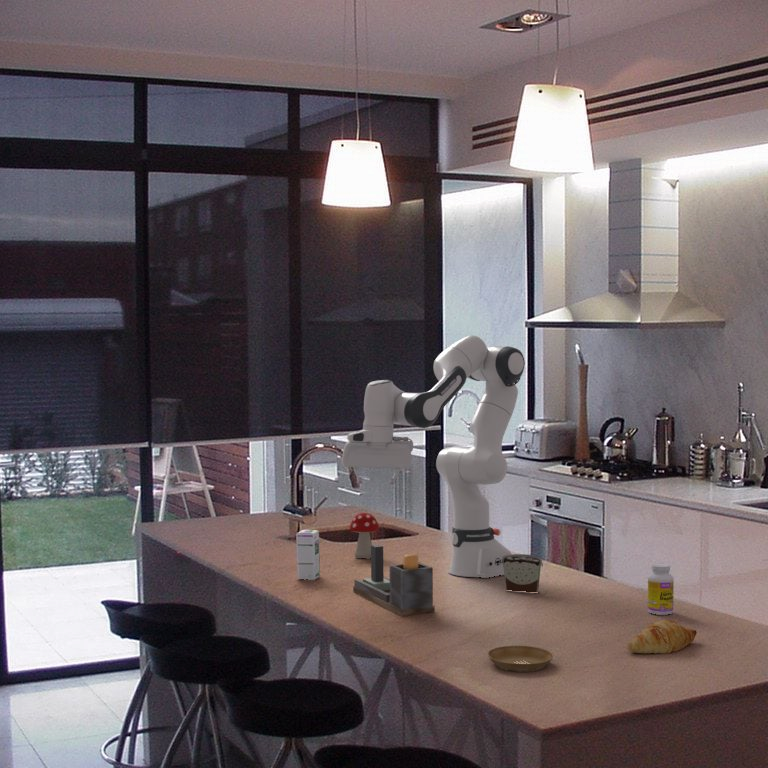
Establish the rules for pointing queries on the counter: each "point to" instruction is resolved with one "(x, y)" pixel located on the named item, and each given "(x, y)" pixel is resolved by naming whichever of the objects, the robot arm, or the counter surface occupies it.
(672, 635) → the croissant
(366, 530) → the decorative mushroom
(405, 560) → the button
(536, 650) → the plant saucer
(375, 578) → the carriage
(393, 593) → the rail
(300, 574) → the syrup box
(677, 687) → the counter surface
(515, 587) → the food container
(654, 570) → the supplement bottle
